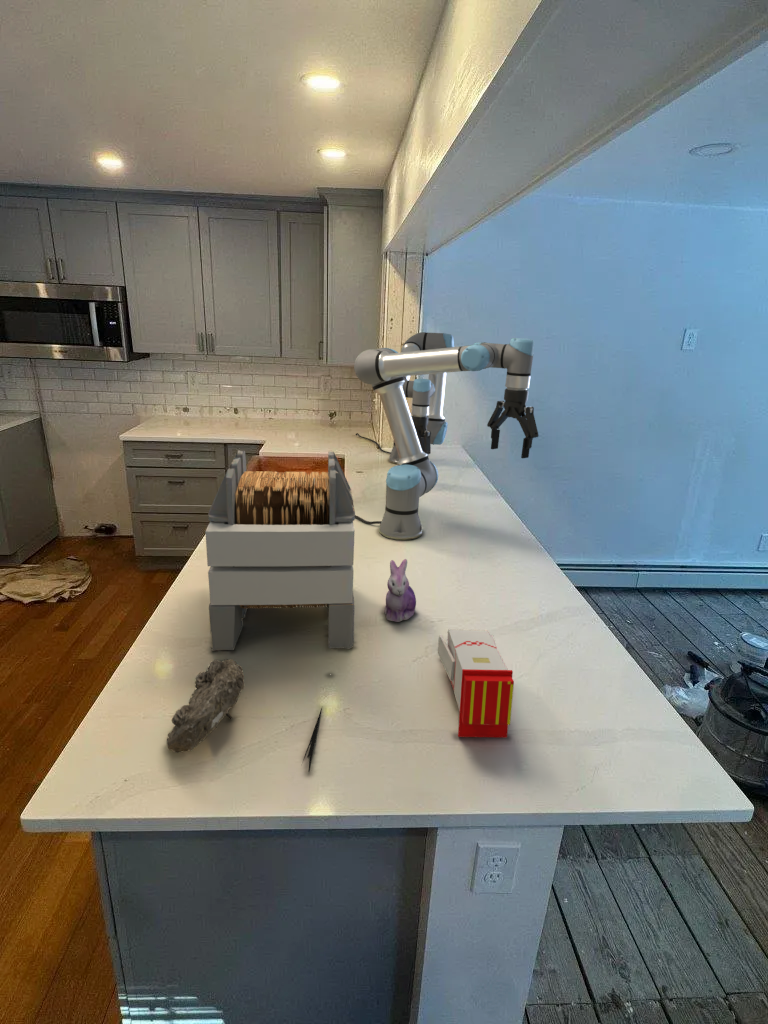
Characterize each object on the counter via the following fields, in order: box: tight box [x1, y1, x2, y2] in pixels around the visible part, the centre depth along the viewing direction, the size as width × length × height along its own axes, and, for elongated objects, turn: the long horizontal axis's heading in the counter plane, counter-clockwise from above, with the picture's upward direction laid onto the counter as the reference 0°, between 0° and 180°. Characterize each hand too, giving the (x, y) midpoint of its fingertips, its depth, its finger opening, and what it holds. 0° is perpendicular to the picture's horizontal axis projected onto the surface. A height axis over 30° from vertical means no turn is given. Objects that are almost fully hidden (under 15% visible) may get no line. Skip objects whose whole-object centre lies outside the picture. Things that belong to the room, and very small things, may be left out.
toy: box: [437, 628, 515, 738], centre depth 117 cm, size 12×13×30 cm
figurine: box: [384, 558, 417, 623], centre depth 145 cm, size 9×10×15 cm
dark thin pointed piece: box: [301, 673, 332, 771], centre depth 108 cm, size 2×28×2 cm
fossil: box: [166, 658, 245, 754], centre depth 106 cm, size 22×10×15 cm
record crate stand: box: [204, 449, 356, 652], centre depth 138 cm, size 34×33×41 cm
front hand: (509, 453), depth 189 cm, fingers open, 13 cm apart
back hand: (416, 466), depth 253 cm, fingers closed on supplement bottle, 7 cm apart
